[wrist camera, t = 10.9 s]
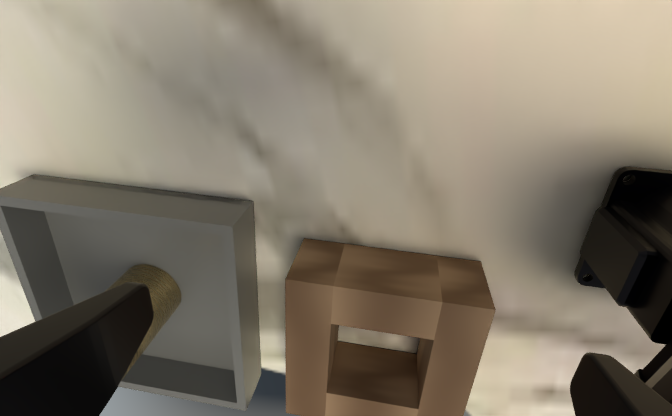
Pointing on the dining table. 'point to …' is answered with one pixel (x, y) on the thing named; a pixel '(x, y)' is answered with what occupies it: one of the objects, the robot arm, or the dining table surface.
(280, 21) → the dining table surface
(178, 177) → the dining table surface
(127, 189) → the charcoal tray
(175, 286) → the brass pin
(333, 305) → the walnut block
